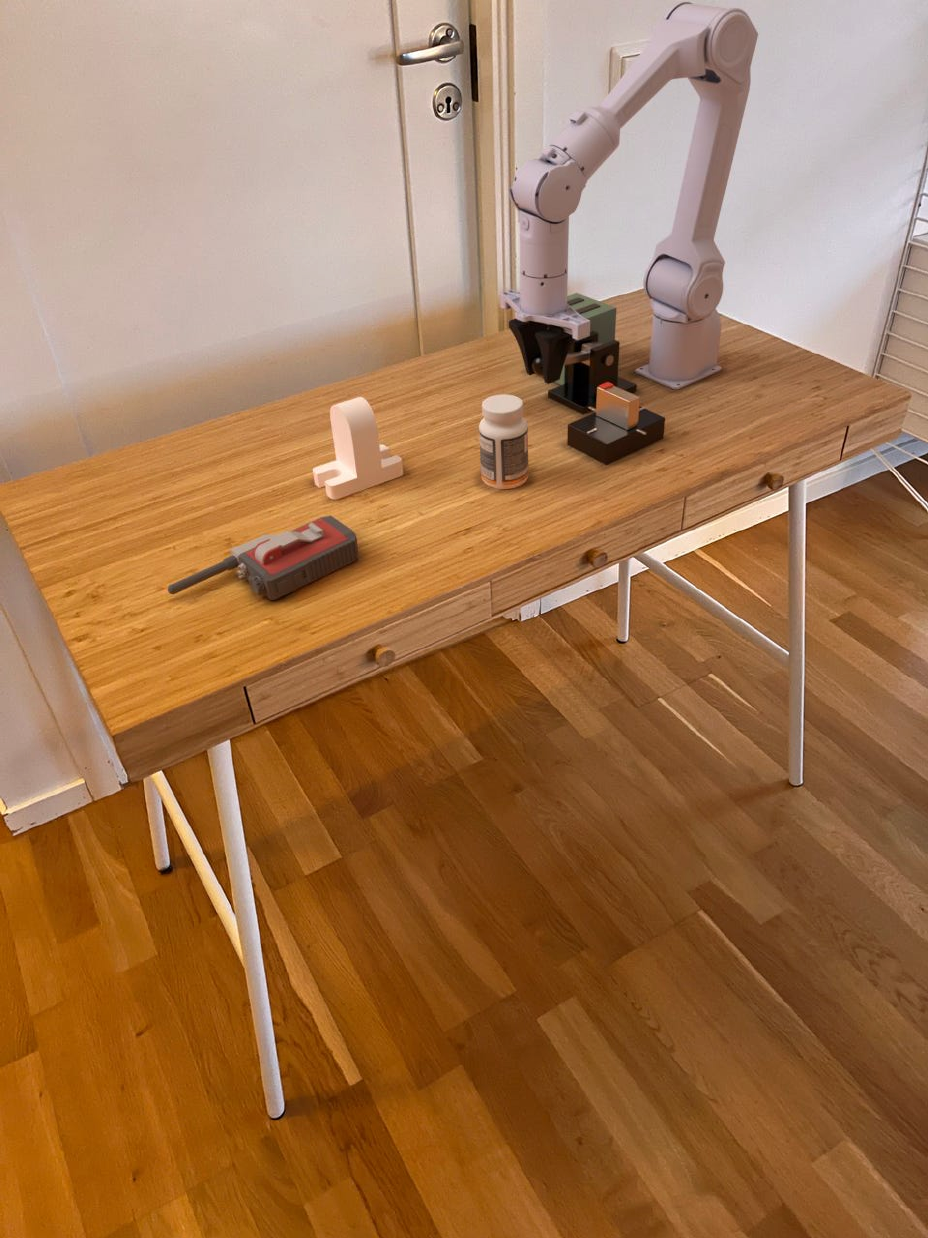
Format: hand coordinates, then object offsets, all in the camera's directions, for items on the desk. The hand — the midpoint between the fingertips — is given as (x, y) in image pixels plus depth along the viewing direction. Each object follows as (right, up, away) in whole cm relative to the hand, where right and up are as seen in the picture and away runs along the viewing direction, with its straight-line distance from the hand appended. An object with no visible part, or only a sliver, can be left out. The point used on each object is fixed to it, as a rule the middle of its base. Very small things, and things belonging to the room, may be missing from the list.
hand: (543, 376), depth 124 cm
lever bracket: (+7, -1, +8) cm, 11 cm away
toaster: (+5, +4, +14) cm, 16 cm away
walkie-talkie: (-31, -27, -22) cm, 46 cm away
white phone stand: (-23, -14, -7) cm, 28 cm away
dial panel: (+9, -9, -3) cm, 13 cm away
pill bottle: (-5, -15, -9) cm, 18 cm away
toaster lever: (+3, +1, +2) cm, 4 cm away
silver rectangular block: (+9, -7, -5) cm, 12 cm away
